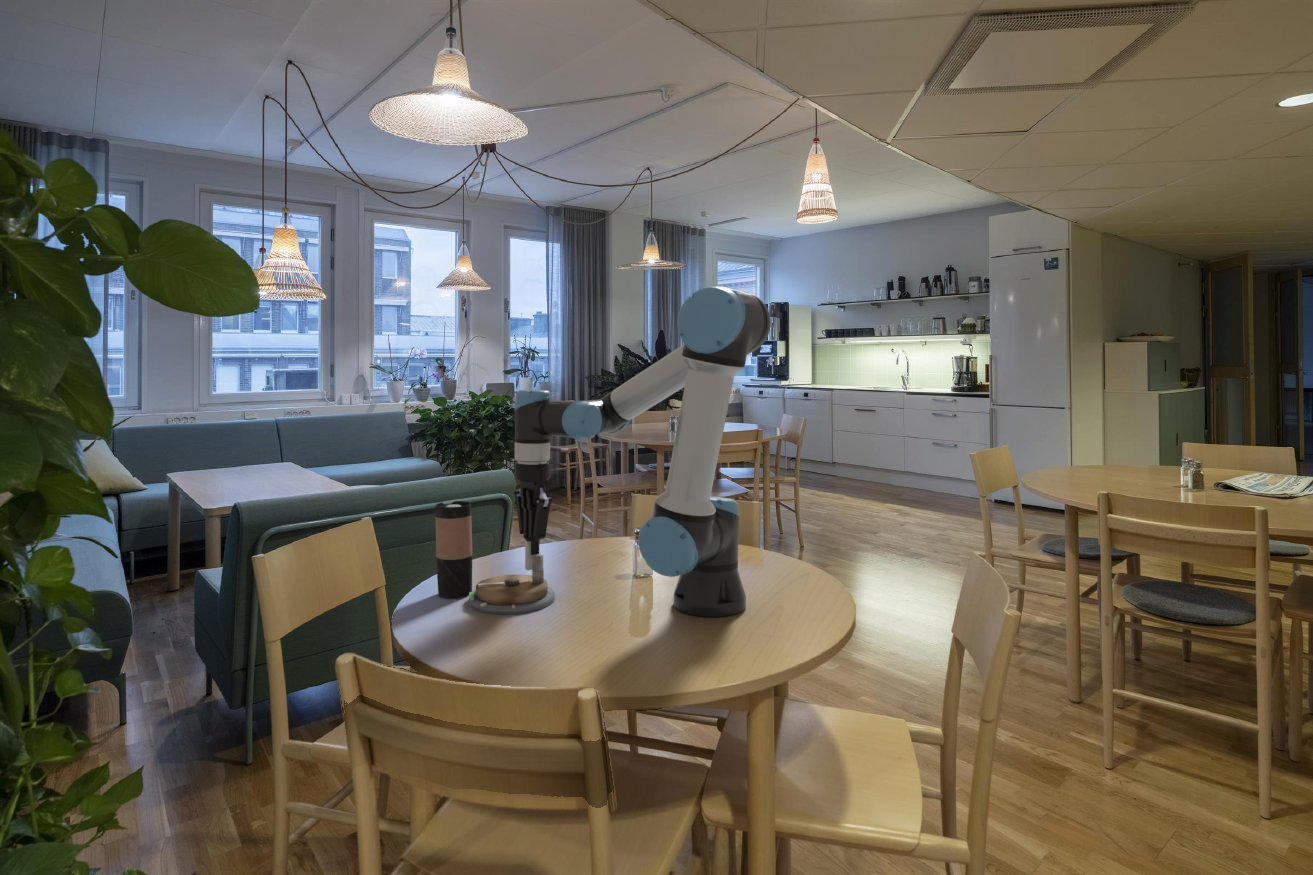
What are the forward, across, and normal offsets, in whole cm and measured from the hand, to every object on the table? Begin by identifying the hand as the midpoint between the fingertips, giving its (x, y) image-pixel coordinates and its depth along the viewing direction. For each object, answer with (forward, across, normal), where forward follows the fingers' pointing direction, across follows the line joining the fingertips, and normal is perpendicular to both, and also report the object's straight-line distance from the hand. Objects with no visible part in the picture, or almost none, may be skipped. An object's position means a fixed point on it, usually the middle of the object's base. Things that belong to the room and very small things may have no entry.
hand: (532, 568), depth 160 cm
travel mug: (+6, +11, +13) cm, 18 cm away
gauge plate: (+6, -1, +5) cm, 8 cm away
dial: (+4, -1, +5) cm, 7 cm away
